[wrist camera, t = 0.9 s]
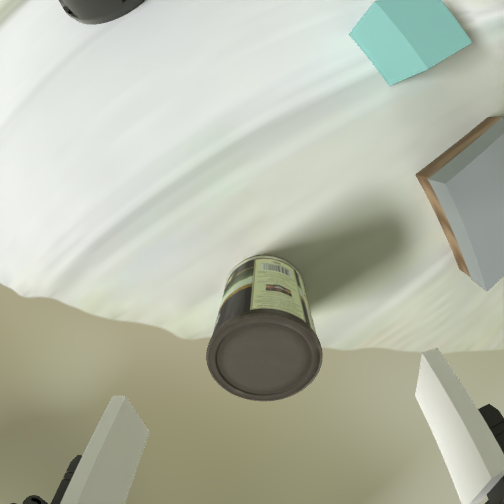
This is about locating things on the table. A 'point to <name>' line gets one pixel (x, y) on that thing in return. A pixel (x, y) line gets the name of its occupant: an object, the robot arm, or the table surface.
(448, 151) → the walnut slab
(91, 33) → the table surface
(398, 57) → the teal block
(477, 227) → the grey slab
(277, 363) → the coffee can
